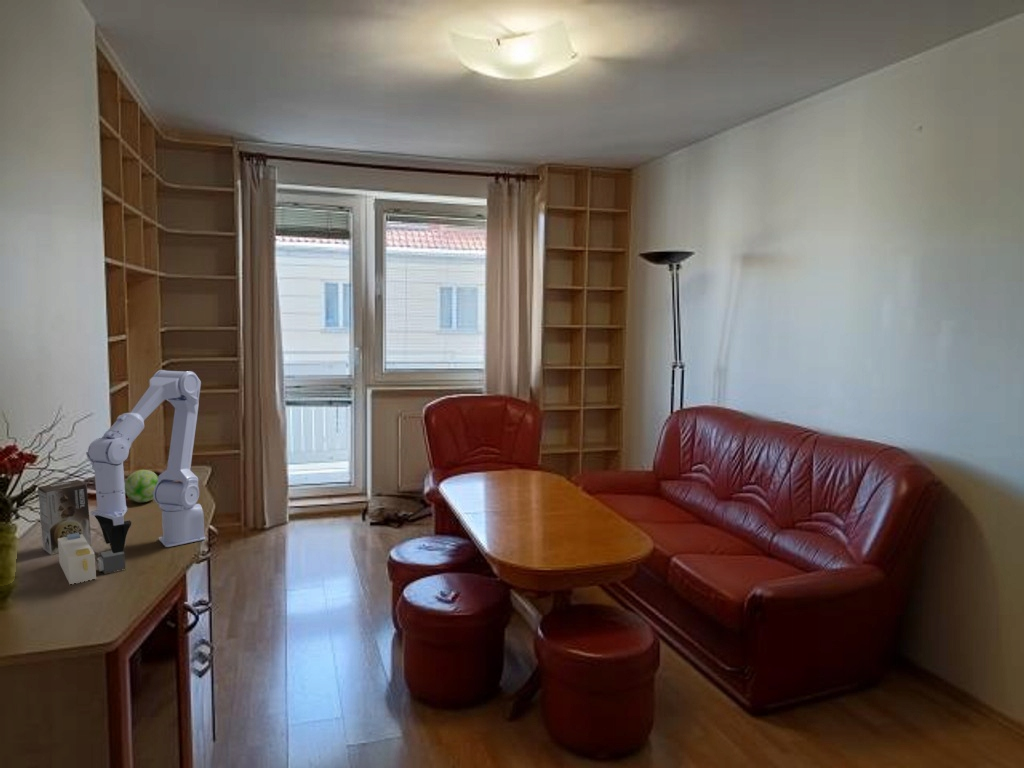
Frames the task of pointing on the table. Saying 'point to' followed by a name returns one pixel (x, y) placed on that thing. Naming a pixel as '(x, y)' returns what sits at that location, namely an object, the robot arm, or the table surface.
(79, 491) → the coffee box
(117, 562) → the plug
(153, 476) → the decorative ball
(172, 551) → the table surface
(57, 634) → the table surface
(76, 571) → the socket box
